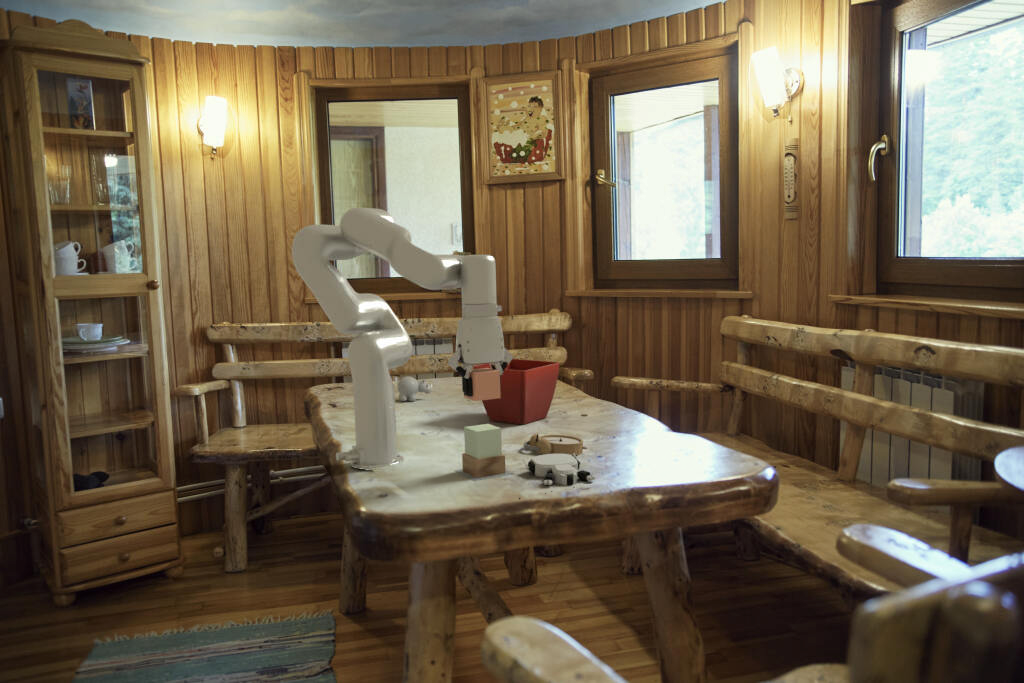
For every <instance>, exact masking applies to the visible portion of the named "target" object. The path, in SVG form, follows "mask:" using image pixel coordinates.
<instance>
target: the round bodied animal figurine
mask: <svg viewBox="0 0 1024 683" xmlns="http://www.w3.org/2000/svg"><path fill="white" fill-rule="evenodd" d="M396 385H397V391H398V400H399V402H407V401H409V402H415V401H416V400H417V397H416V394H417V393H418V392H419V393H425V394H431V392H432V388H433V384H432V383H430V384H428V383H427V381H426V380H425V378H422V379H421V380H419V381H417V379H416V378H414V377H413V376H404V377H402V378H401V379H400V380H399V382H397V384H396Z"/></svg>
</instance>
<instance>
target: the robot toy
mask: <svg viewBox="0 0 1024 683" xmlns="http://www.w3.org/2000/svg"><path fill="white" fill-rule="evenodd" d="M522 461H523V463H524V465H525V466H526V470H528V472H530V473H531V474H532V475H534V476H535V477H537V478H544V479H543V484H544V485H546V486H552V485H553V484H554V483H555V484H559V485H562V486H567V485H568V486H572V485H576V484H577V482H578V479H579V480H581V481H583V482H588V481H590V482H591V481H593V480H594V481H595V479H596V477H595V475H592V474H591V472H589V471H587V470H584V469H582V470H579V469H580V466H581V461H580V460H579V459H578V456H575V454H574V453H573V456H572V455H570V454H545V455H542V454H538V455H536V456H533V457H531V458H530V460H529V461H528V462H526V459H525V458H523V457H522ZM578 470H579V471H578Z"/></svg>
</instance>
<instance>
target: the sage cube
mask: <svg viewBox="0 0 1024 683" xmlns="http://www.w3.org/2000/svg"><path fill="white" fill-rule="evenodd" d="M463 431H464V453H465V454H467V455H469V456H472V457H474V458H476V459H481V458H487V457H493V456H500V455H502V454H503V453H502V452H503V450H502V449H503V448H502V447H503V446H502V428H501V427H499V426H495V425H493V424H490V423H485V424H482V423H481V424H477V425H467V426H464V427H463Z"/></svg>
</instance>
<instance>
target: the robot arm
mask: <svg viewBox="0 0 1024 683" xmlns="http://www.w3.org/2000/svg"><path fill="white" fill-rule="evenodd" d="M368 252H369V253H370V254H373V255H375V256H377V257H379V258H380V259H383V260H384V261H385V262H387V263H389V266H391V268H392V269H393V271H395V272H396V273H397V274H398V275H399V276H401V277H402V278H404V279H406V280H408V281H410V282H411V283H413V284H416V285H418V286H419V287H421V288H424V289H427V290H431V291H439V290H453V289H460V288H461V290H460V291H461V309H462V310H461V311H462V312H461V316H462V318H459V319H458V321H457V329H456V335H455V337H456V338H455V352H454V353H453V354H452V355H451V357H450V359H449V360H448V361H447V364H448V365H449V366H450V367H451V368H452V369H453V371H455V372H456V373H457V374H458V375H459V377H460V378H461V383H462V384H461V386H462V388H461V389H462V392H463V396H464V395H466V396H469V397H471V396H473V385H472V378H470V375H471V372H472V369H473V366H476V365H481V364H490V367H491V369H494V370H498V371H500V388H501V375H502V374H503V371H504V370H505V368H506V367H507V365H508V364H509V363H510V361H511V360H512V359H514V355H513V354H512V353H511V352H510V351H508V349H507V348H506V347H505V341H504V340H505V339H504V333H503V327H502V323H501V319H500V317H498V314H499V312H502V310H503V308H502V305H498V303H497V274H496V273H497V269H496V268H497V267H496V259H495V257H494V256H492V255H491V254H469V255H468V254H467V255H462V254H461V255H460V254H433V253H431V252H429V251H426V250H424V249H422V248H421V247H419V246H417V245H415V244H413V243H412V236H411V232H410V231H409V229H407V228H405V227H403V226H401V225H400V224H397V223H396V221H395V218H394V217H393V216H392V215H391V214H390V213H389V212H388V211H386V210H385V209H381V208H376V207H375V208H373V207H362V206H361V207H360V206H358V207H353V208H350V209H348V210H347V211H346V212H344V213H343V214H342V216H341V218H340V222H339V225H336V224H312V225H311V224H310V225H306V226H304V227H303V228H301V229H299V230H298V231H297V232H296V234H295V235H294V237H293V241H292V245H291V257H292V263H293V265H294V268H295V270H296V272H297V274H298V275H299V277H300V278H301V280H302V281H303V282H304V284H305V285H306V286H307V288H308V289H309V290H310V291H311V292H312V294H313V296H314V297H315V299H316V300H317V303H318V304H319V305H320V307H321V309H322V311H323V312H324V313H325V315H326V316H327V318H328V320H329V321H330V323H331V324H332V326H333V327H334V329H335V330H337V332H339V333H340V334H343V335H356V334H357V336H355V337H354V338H352V340H351V341H350V342H349V345H348V347H347V361H348V365H349V369H350V374H351V379H352V380H351V381H352V388H353V390H352V391H353V408H354V424H355V425H354V426H355V427H354V429H355V445H352V447H351V448H352V449H348V451H340V452H336V453H335V459H336V461H337V462H339V461H345V462H350V463H349V466H350V465H351V466H353V467H356V468H363V469H371V468H382V467H390V466H393V465H397V464H400V463H401V462H404V461H405V458H404V457H403V455H400V454H398V444H397V423H396V422H397V420H396V417H397V415H396V398H395V396H396V395H395V394H396V392H395V386H394V383H393V380H392V377H391V374H390V372H389V370H390V369H394V368H399V367H401V366H404V365H405V364H407V363H408V362H409V361H410V360H411V357H412V354H413V343H412V340H411V338H410V335H409V333H408V332H407V331H406V329H405V327H404V326H403V324H402V323H401V321H400V320H399V318H398V317H397V315H396V314H395V312H394V311H393V310H392V308H391V307H390V305H389V303H387V301H386V300H385V299H383V298H382V297H381V296H379V295H377V294H375V293H359V292H356V291H355V290H354V288H353V287H352V285H351V284H350V283H349V281H348V280H347V278H346V276H345V275H344V274H343V273H342V272H341V271H340V270H339V269H337V267H335V266H334V265H333V264H332V263H331V262H330V261H348V260H352V259H354V258H358V257H360V256H362V255H364V254H366V253H368ZM460 364H462V366H461V365H460ZM351 466H350V467H351Z"/></svg>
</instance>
